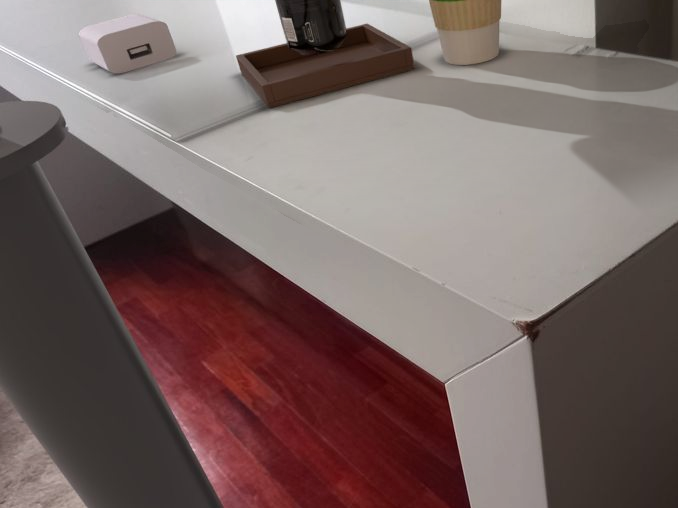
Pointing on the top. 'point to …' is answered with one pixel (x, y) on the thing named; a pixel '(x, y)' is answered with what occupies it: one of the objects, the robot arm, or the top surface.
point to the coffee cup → (467, 29)
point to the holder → (324, 66)
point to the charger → (127, 43)
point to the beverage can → (312, 25)
